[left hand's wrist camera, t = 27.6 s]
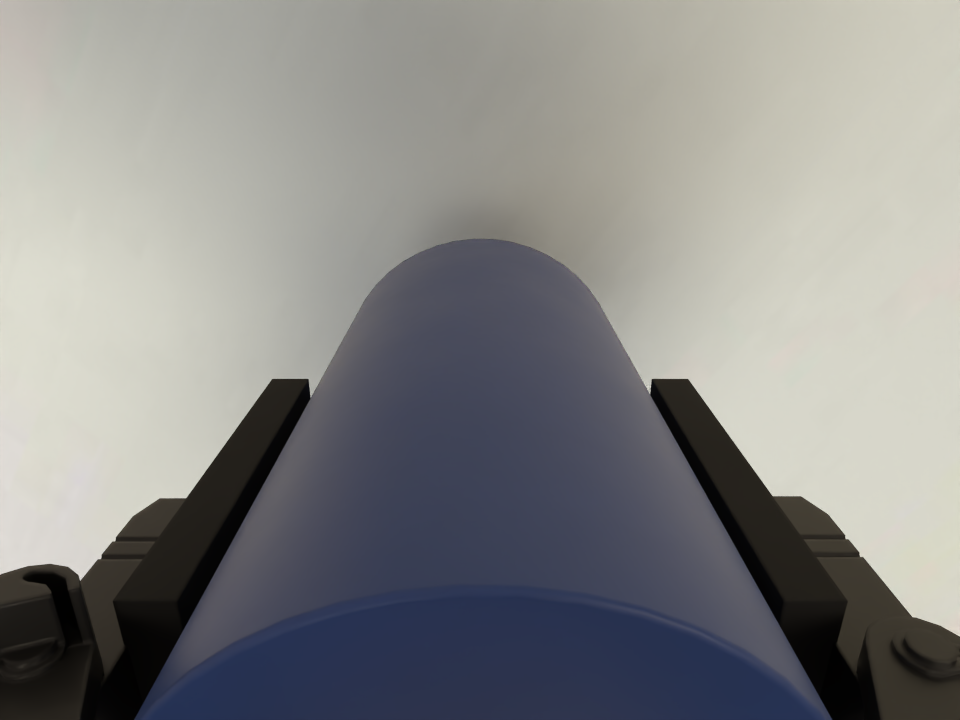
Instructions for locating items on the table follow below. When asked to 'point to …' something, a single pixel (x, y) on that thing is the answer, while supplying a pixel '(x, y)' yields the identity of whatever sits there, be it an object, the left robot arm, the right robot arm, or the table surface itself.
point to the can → (482, 531)
